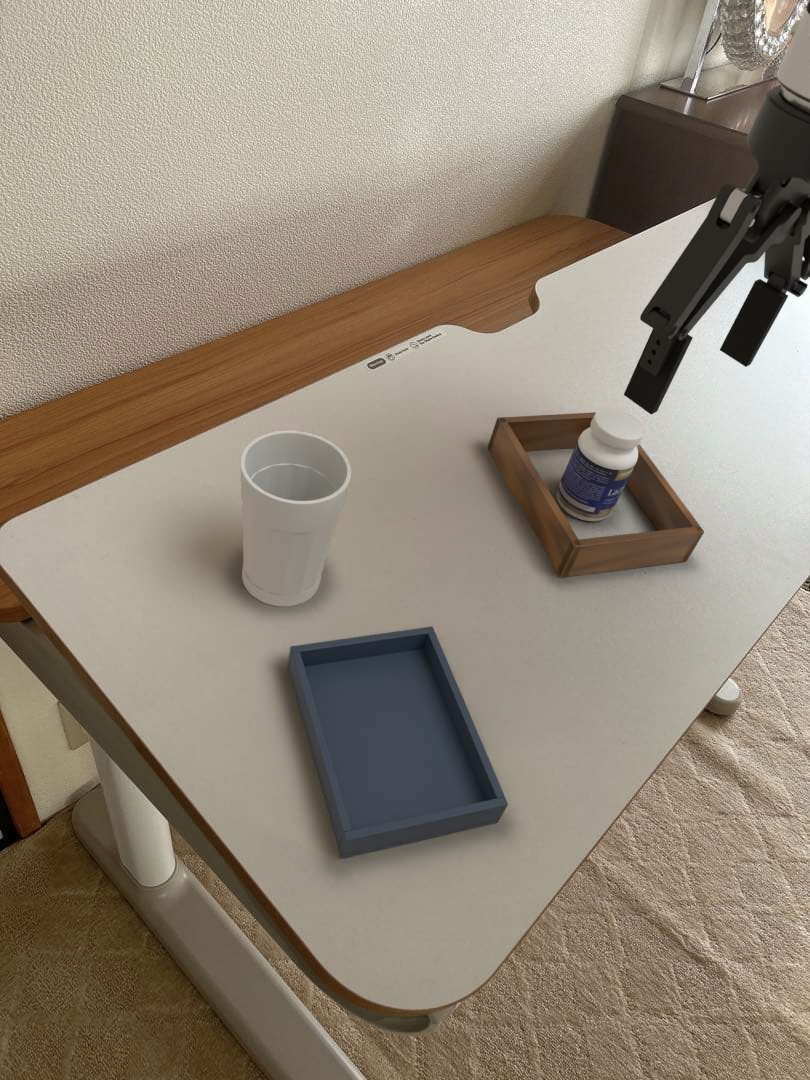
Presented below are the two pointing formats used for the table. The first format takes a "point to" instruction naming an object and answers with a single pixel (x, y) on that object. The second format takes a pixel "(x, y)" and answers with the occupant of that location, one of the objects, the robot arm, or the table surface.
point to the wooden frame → (551, 525)
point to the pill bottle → (600, 465)
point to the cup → (289, 513)
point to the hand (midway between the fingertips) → (689, 379)
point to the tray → (392, 740)
